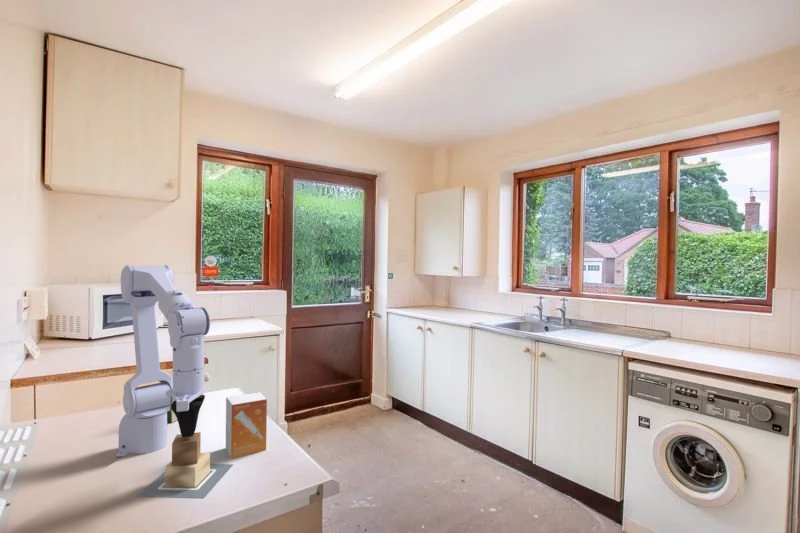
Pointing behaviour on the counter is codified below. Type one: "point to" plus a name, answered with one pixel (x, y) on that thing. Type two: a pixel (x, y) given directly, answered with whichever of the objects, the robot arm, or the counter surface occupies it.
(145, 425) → the robot arm
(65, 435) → the counter surface
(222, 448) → the counter surface
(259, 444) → the small box
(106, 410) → the counter surface
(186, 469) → the maple block
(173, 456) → the walnut block
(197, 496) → the board
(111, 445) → the counter surface
